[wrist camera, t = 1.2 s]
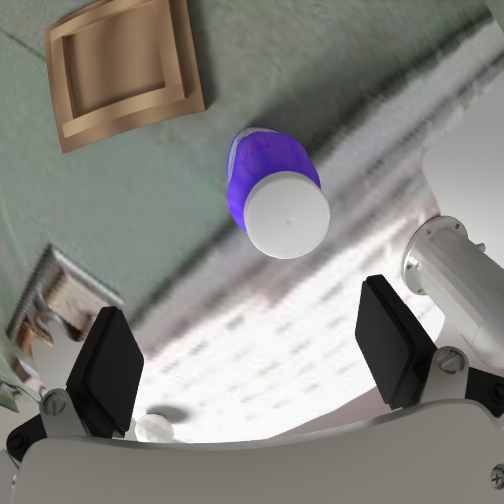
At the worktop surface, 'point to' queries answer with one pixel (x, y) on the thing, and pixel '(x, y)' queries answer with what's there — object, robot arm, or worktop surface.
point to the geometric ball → (154, 429)
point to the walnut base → (121, 68)
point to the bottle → (276, 193)
